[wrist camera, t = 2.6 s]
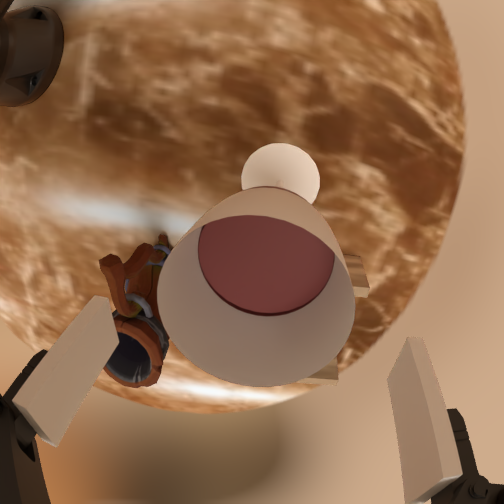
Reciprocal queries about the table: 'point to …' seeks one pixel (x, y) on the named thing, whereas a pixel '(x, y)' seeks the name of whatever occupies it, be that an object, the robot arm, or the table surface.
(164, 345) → the brown pitcher
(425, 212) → the table surface
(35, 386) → the robot arm
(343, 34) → the table surface
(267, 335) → the wineglass
